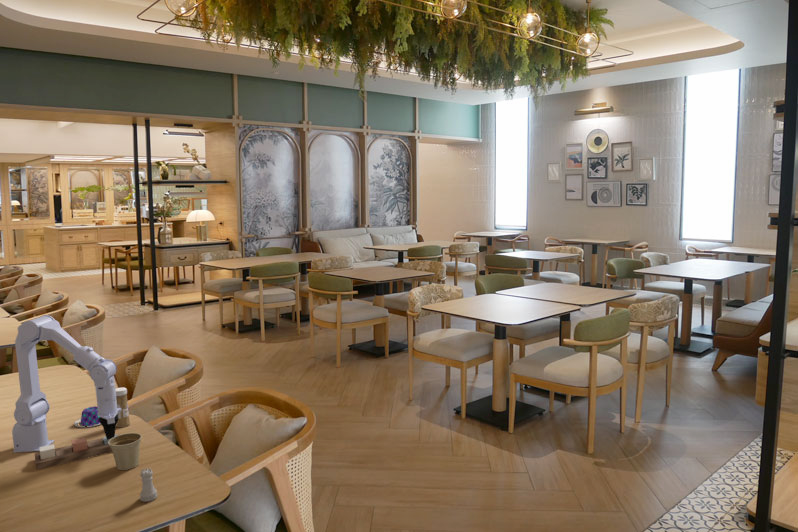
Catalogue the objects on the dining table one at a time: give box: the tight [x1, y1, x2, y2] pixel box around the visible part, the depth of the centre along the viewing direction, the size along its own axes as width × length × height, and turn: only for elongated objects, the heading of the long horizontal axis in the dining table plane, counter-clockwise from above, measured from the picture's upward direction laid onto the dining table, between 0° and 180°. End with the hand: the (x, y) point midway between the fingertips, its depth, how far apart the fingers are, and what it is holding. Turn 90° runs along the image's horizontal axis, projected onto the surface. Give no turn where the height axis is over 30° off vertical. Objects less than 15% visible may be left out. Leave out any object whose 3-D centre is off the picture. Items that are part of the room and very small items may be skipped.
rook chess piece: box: [139, 467, 158, 503], centre depth 167 cm, size 4×4×8 cm
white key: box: [39, 443, 56, 460], centre depth 193 cm, size 4×4×3 cm
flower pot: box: [108, 432, 143, 471], centre depth 188 cm, size 9×9×9 cm
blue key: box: [102, 434, 118, 445], centre depth 202 cm, size 4×4×3 cm
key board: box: [34, 434, 121, 471], centre depth 198 cm, size 25×9×2 cm, turn 122°
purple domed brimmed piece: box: [73, 405, 101, 428], centre depth 226 cm, size 12×12×5 cm
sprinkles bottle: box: [115, 387, 131, 428], centre depth 220 cm, size 5×5×13 cm
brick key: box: [71, 436, 88, 452], centre depth 198 cm, size 4×4×3 cm
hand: (110, 438), depth 202 cm, fingers closed, pressing on blue key
